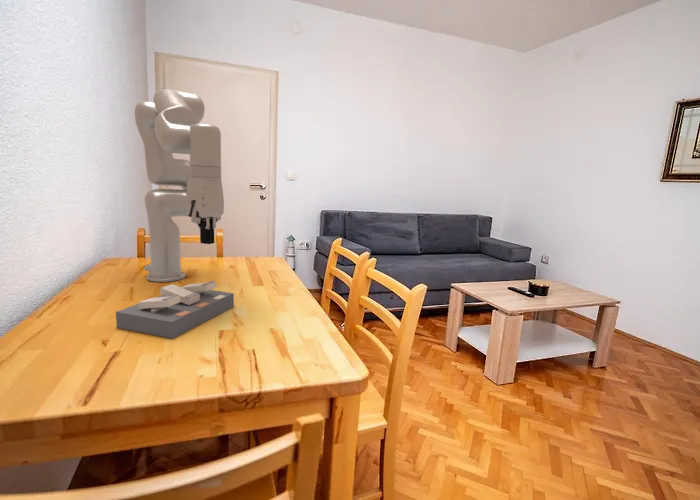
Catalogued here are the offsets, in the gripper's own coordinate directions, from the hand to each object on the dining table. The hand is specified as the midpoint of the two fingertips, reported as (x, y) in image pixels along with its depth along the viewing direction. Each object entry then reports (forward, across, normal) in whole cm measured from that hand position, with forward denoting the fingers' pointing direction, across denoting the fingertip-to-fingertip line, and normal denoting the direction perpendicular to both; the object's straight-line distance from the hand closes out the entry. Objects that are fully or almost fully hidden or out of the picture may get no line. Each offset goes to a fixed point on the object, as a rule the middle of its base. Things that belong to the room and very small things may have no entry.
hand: (207, 243), depth 99 cm
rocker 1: (+13, +14, -3) cm, 19 cm away
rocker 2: (+13, +7, -3) cm, 15 cm away
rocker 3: (+13, 0, -3) cm, 13 cm away
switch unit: (+19, +7, -3) cm, 20 cm away
